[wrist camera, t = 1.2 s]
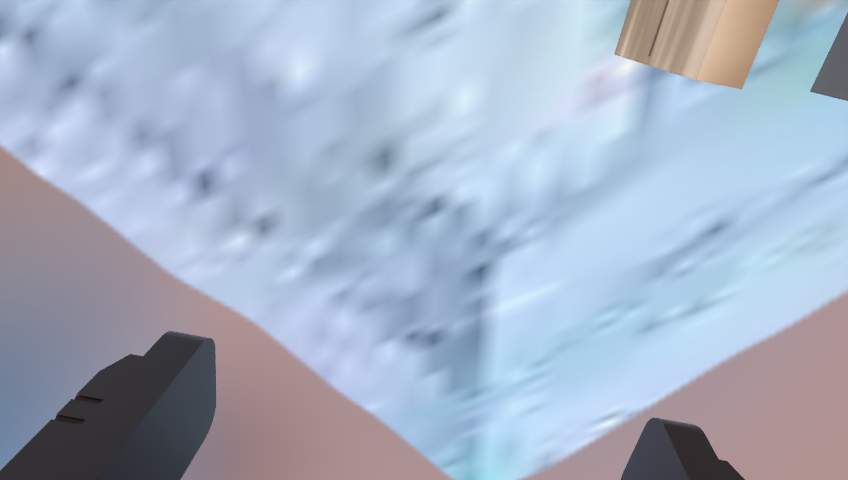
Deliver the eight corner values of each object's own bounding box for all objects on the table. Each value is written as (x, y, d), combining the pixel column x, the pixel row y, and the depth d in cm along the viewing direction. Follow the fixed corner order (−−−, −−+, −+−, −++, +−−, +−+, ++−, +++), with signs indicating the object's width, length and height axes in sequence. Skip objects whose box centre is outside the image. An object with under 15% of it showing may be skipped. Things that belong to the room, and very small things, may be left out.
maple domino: (614, 54, 31) (695, 80, 20) (643, -40, 29) (752, -68, 18) (644, 60, 31) (742, 89, 20) (675, -33, 29) (804, -58, 18)
